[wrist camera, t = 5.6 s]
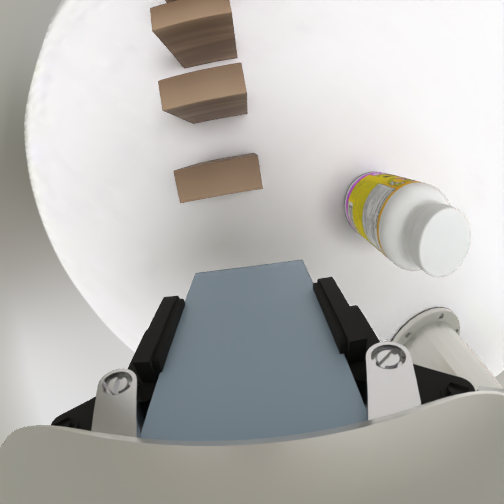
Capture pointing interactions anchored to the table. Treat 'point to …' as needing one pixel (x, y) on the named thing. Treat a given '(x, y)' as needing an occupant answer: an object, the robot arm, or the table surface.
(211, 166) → the domino
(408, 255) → the supplement bottle
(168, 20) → the domino
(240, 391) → the domino
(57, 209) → the table surface
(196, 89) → the domino
